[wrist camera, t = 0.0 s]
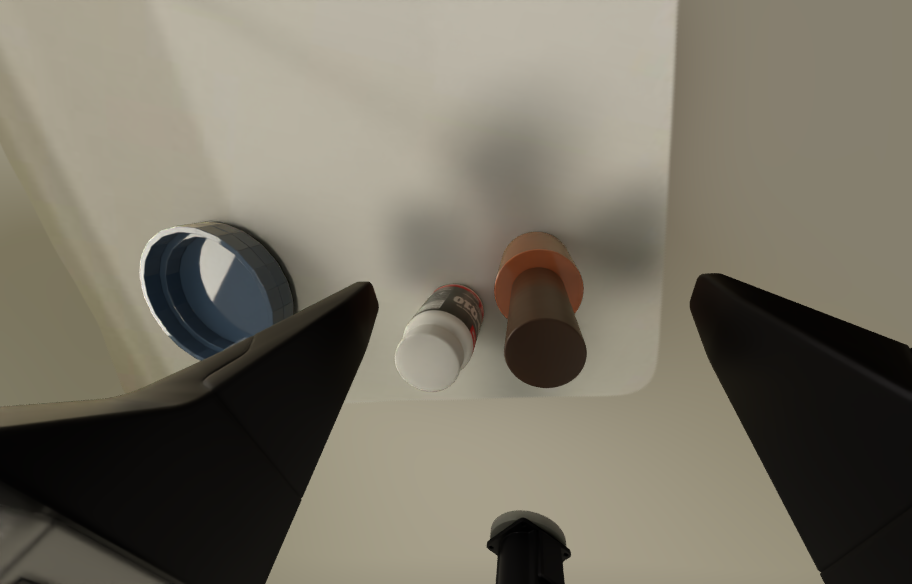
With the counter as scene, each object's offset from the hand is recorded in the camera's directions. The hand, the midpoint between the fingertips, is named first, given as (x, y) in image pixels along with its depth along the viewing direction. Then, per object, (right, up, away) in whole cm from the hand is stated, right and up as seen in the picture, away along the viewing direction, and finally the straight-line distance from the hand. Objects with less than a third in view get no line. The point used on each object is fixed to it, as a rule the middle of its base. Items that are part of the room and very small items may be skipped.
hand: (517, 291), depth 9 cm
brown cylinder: (+2, -1, +6) cm, 7 cm away
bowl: (-23, 0, +21) cm, 31 cm away
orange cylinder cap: (+4, +2, +15) cm, 15 cm away
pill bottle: (-2, -1, +18) cm, 18 cm away
